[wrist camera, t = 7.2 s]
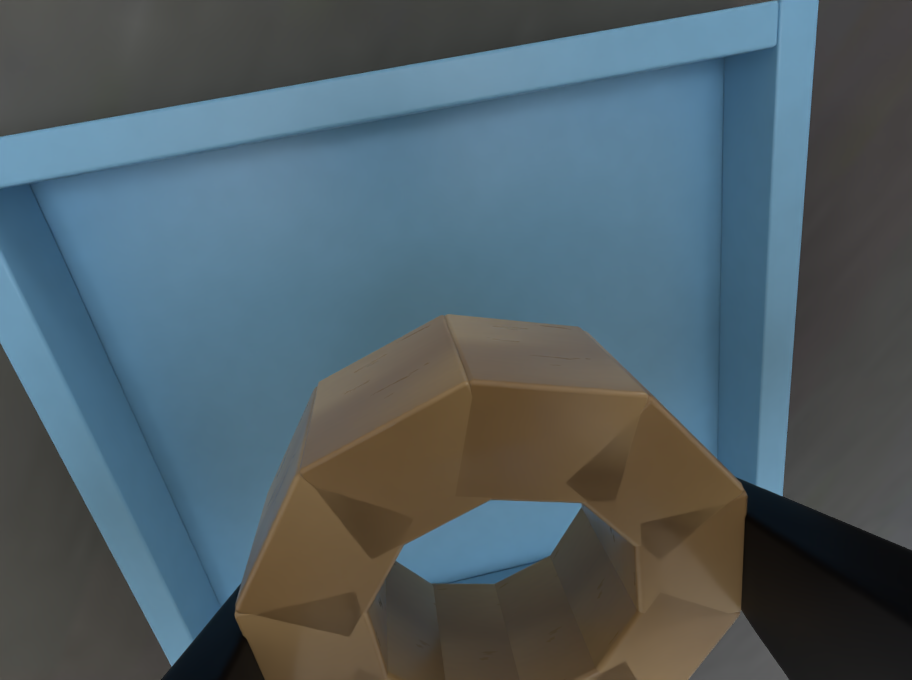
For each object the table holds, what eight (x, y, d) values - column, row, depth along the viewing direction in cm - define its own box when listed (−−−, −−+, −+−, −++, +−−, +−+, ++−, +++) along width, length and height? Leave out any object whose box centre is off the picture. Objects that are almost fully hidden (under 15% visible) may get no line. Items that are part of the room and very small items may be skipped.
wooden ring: (658, 268, 8) (758, 319, 6) (667, 603, 11) (740, 720, 9) (216, 359, 8) (156, 449, 6) (337, 685, 11) (326, 831, 9)
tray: (744, 15, 12) (821, -9, 10) (729, 521, 18) (777, 574, 16) (-13, 149, 11) (-103, 153, 9) (219, 644, 17) (197, 719, 15)
